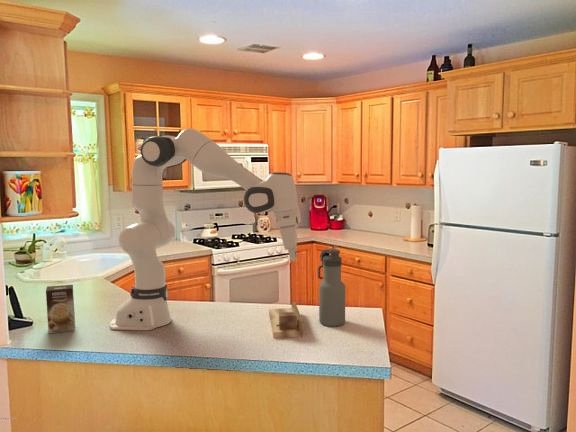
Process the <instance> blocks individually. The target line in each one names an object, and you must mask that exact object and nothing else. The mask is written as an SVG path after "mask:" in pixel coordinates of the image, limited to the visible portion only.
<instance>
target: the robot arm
mask: <svg viewBox="0 0 576 432" xmlns="http://www.w3.org/2000/svg"><path fill="white" fill-rule="evenodd" d="M187 161H188V162H189V163H190V164H191V165H192V166H194V168H196V169H198V170H199V171H200V172H202V173H203V174H205V175H207V176H209V177H215V178H223V179H226V180H229V181H233V182H234V183H236V185H238V186H239V187H241V188H243V189H244V190H245V193H244V195H243V203H244V206H245V208H246V209H247V210H248V211H249V212H251V213H253V214H262V213H267V212H273V216H274V217H273V218H274V223H275V224H274V225H275V226H276V227H277V229H279V233H280V237H281V240H282V244H283V247H284V250H286V251H287V252H288V253H287V254H288V255H289V260H290V262H296V260H297V258H296V257H297V256H298V253H297V245H298V241H299V240H298V234H297V233H298V232H297V229H298V228H299V224H300V223H302V218H301V213H300V207H299V205H298V194H297V187H296V183H295V180H294V177H293V176H292V174H290V173H289V172H280V171H279V172H278V171H277V172H271V173H269V175H268V176H267V177H266V178H264V180H262V179H261V178H259V177H258V176H257V175H255V174H254V173H253V172H251V171H250V170H249V169H247V168H246V167H244V166H243V165H242V164H240V163H239V162H238V161H237V160H236V159H234V158H233V157H232V156H231V155H230V154H229V153H227V152H226V150H224V149H223V148H222V147H221V146H220V145H219V144H217V143H216V142H215V141H213V140H212V139H211V138H210V137H209V136H207V135H205V134H204V133H202V132H200V131H199V130H196V129H195V128H192V127H190V128H189V127H188V128H185V129H183V130H182V131H180V133H178V135H175V136H174V135H166V134H165V135H154V136H151V137H150V136H149V137H148V138H146V139H145V140H143V142H142V144H141V145H140V154H139V155H138V156H136V157H135V158H134V160H133V163H132V169H131V204H132V207H133V208H134V209H135V210H136V211H137V212H138V214H139V217H140V221H141V222H137V223H132V224H131V225H128V226H127V227H125V228H123V229H122V230H121V231H120V233H119V235H118V244H119V246H120V248H121V250H123V251H124V252H125V253H126V254H127V255H128V256H129V258H130V260H131V262H132V265H133V270H134V282H135V284H133V285H132V286H131V287H130V289H129V290H130V291H129V294H130V297H129V298H127V299H126V300H125V301H123V302H122V303H121V305H119V306H118V308H117V310H116V314H115V318H112V320H111V321H110V322H109V329H110V330H112V331H113V330H114V331H115V330H121V331H123V330H124V331H151V330H153V329H156V328H159V327H163V326H165V325H168V324H170V323H171V322H172V317H171V315H170V314H171V313H170V310H169V304H168V297H169V296H168V294H169V293H168V286H167V284H166V266H165V264H164V263H163V262H162V261H161V260H160V259H159V257H158V255H157V249H160V248H163V247H165V246H167V245H168V244H170V243H171V242H172V241H173V240H174V239H175V236H176V229H175V226H174V225H173V223H172V222H171V221H170V220H169V218H168V217H167V214H166V210H165V205H164V193H163V190H164V189H163V187H164V186H163V172H164V171H165V169H166V168H168V169H169V168H173V167H176V166H180V165H181V164H184V163H186V162H187Z"/></svg>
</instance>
